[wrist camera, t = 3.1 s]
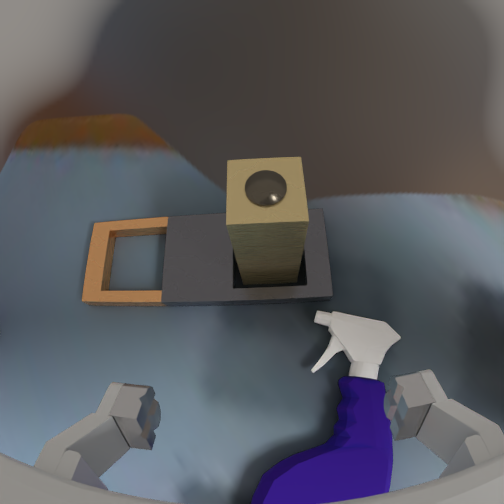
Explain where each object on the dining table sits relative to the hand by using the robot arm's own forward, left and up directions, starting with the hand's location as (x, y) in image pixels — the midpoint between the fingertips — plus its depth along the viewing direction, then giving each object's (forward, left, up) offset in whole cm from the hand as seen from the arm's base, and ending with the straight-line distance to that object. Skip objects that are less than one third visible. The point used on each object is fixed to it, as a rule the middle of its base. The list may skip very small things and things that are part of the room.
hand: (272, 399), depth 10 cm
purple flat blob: (-5, +7, -16) cm, 18 cm away
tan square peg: (0, -11, -15) cm, 19 cm away
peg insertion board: (+6, -11, -15) cm, 20 cm away
